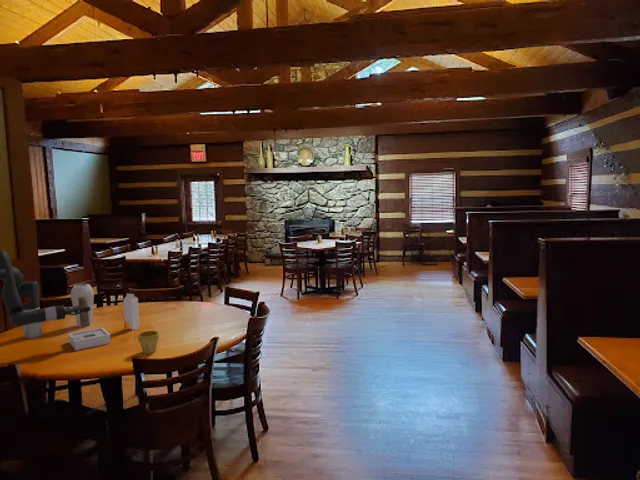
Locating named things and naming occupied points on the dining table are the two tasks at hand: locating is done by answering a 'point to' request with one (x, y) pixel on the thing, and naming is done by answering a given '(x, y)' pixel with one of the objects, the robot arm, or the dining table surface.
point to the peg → (84, 316)
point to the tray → (89, 338)
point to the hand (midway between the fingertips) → (88, 308)
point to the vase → (83, 291)
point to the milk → (131, 311)
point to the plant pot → (148, 341)
